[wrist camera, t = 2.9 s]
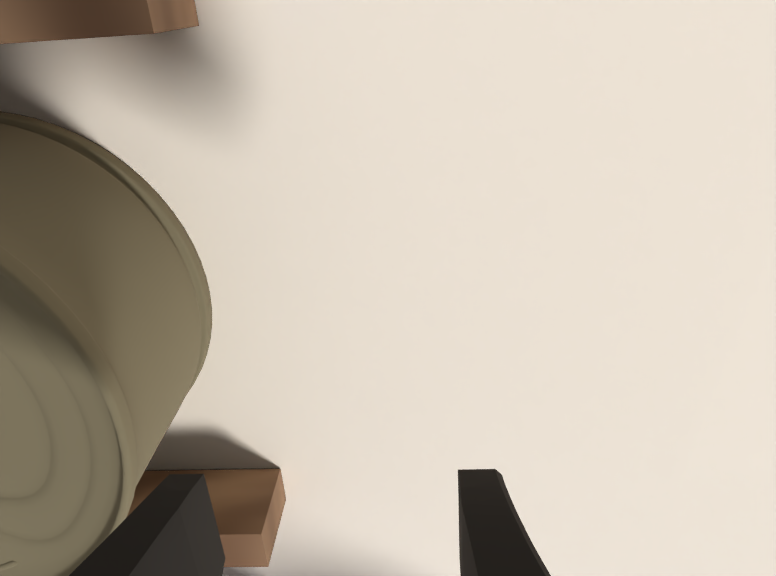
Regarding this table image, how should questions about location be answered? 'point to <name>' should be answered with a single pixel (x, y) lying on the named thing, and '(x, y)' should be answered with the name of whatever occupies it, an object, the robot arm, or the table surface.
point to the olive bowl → (85, 340)
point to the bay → (226, 487)
